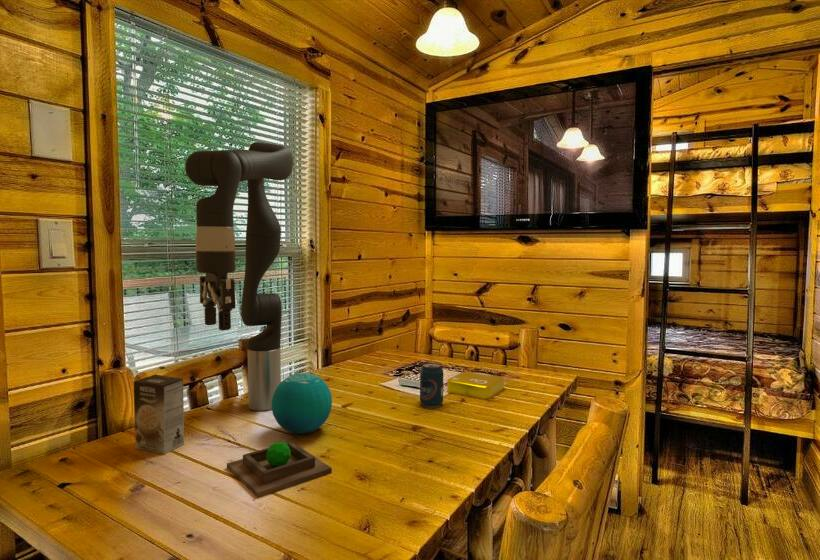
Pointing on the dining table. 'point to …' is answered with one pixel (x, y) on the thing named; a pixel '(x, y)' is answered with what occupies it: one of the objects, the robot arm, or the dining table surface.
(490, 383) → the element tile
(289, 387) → the decorative orb
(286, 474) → the tray
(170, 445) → the coffee box
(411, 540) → the dining table surface
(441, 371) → the soda can
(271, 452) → the polyhedron
